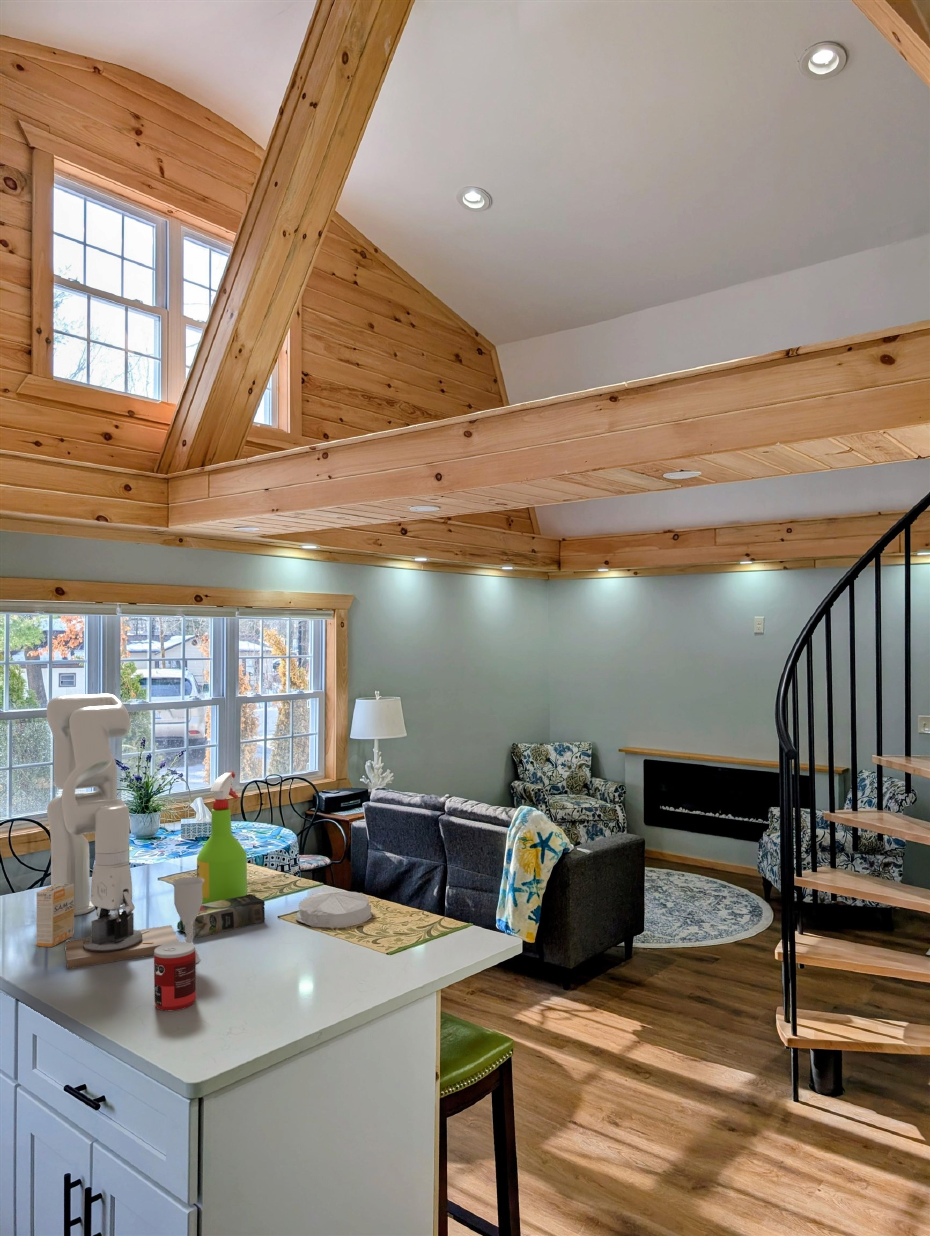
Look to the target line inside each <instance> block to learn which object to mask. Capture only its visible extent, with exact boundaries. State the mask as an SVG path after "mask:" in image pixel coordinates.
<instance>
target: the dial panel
mask: <svg viewBox="0 0 930 1236" xmlns="http://www.w3.org/2000/svg"><path fill="white" fill-rule="evenodd" d="M137 930H138V931H140V932H142V941H141V942H140V943H138V944H137V945H135V946H132V947H130V948H127V949H123V950H118V951H112V952H90V951H87V950H85V949H84V948H83V941H84V939H86V938H87V937H85V938H78V939H72V940H66V941H65V959H66V970H69V969H70V970H71V969H76V968H77V969H78V968H83V967H89V966H95V965H100V964H107V963H112V962H113V963H114V962H120V961H126V960H131V959H137V958H144V957H148V956H149V955H150V956H154V950H155V949H156V948H157V947H159V946H161V945H164V944H167V943H173V942H180V941H179V939H178V936H177V935H176V932H175V929H174V928H173V925H170V924H169V925H164V926H156V927H151V928H150V927H149V928H144V929H137ZM143 956H144V957H143ZM150 956H149V957H150Z"/></svg>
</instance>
